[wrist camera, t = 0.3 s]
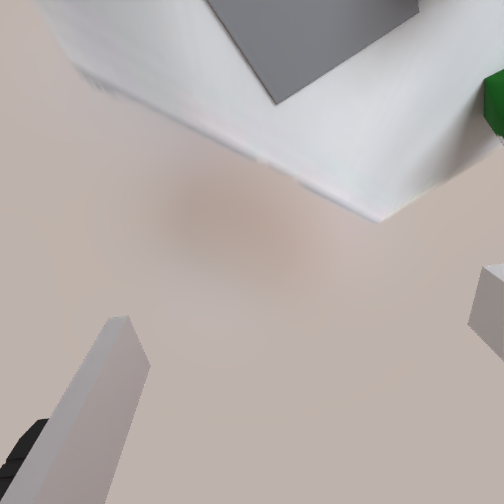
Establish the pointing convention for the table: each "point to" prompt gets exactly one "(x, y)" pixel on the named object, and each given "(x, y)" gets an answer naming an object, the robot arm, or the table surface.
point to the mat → (306, 35)
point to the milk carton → (495, 103)
